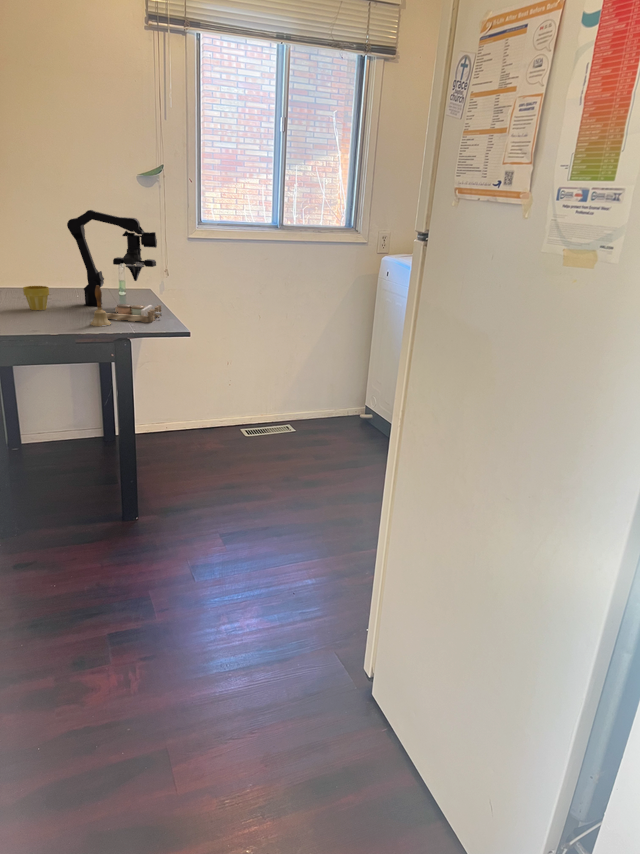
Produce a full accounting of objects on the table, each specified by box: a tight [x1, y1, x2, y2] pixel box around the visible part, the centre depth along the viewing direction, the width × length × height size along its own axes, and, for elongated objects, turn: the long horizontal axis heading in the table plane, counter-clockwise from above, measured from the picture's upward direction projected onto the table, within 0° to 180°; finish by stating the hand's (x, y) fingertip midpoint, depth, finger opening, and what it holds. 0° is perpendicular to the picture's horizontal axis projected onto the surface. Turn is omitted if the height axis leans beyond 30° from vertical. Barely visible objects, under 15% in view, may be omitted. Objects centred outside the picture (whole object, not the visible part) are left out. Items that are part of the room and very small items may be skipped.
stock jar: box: [131, 304, 147, 315], centre depth 272 cm, size 6×6×5 cm
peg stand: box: [141, 304, 163, 316], centre depth 272 cm, size 7×13×4 cm, turn 178°
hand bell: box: [90, 285, 112, 327], centre depth 253 cm, size 8×8×16 cm
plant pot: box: [22, 285, 50, 311], centre depth 274 cm, size 10×10×10 cm
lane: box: [106, 304, 162, 323], centre depth 272 cm, size 21×16×5 cm
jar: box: [116, 303, 133, 315], centre depth 272 cm, size 6×6×5 cm
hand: (135, 280), depth 291 cm, fingers closed
